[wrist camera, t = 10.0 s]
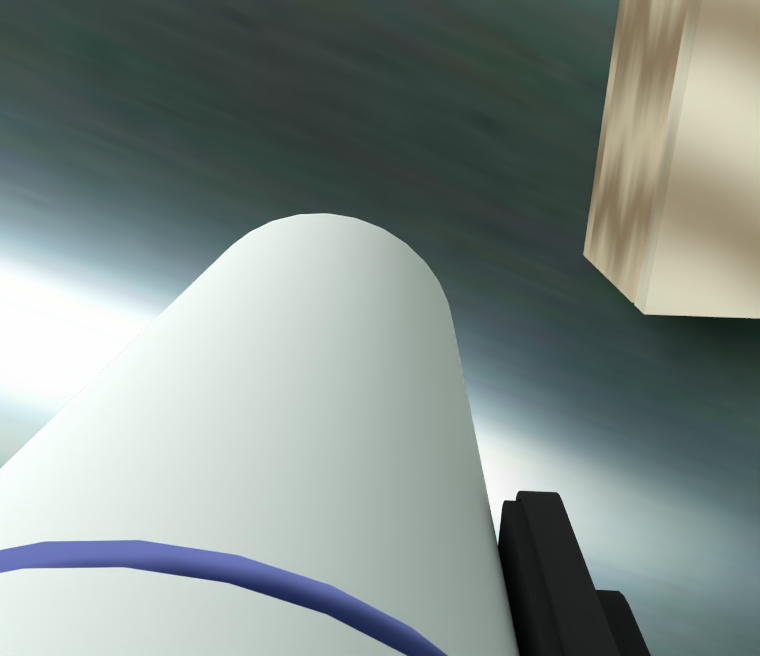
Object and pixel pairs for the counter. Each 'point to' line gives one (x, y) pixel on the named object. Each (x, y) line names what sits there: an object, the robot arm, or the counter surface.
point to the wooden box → (632, 136)
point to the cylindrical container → (265, 472)
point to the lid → (709, 172)
